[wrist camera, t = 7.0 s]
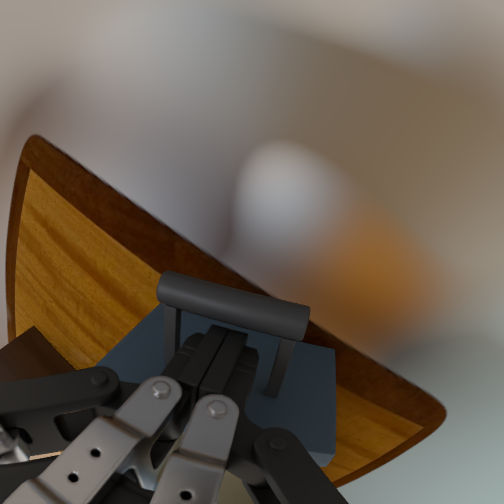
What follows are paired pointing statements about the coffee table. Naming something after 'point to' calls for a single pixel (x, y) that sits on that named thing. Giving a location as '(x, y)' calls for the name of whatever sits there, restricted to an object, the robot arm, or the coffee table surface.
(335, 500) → the robot arm
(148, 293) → the coffee table surface
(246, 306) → the drawer
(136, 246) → the coffee table surface
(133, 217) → the coffee table surface
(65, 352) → the coffee table surface
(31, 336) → the stand
